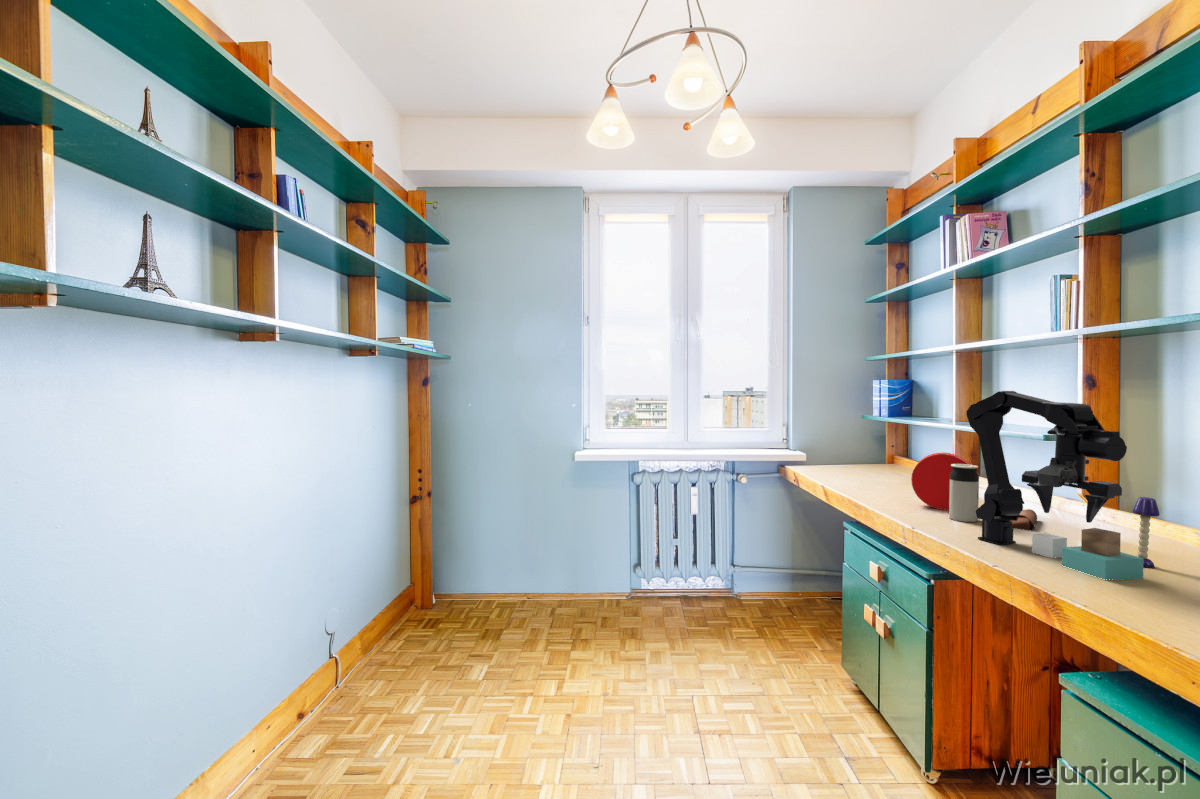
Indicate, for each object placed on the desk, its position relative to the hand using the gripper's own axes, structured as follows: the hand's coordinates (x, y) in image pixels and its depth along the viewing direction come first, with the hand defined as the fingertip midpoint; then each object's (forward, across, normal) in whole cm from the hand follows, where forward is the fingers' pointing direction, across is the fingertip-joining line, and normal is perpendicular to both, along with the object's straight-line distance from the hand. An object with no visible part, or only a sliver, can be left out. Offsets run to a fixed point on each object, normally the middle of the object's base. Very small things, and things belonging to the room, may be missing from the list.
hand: (1067, 517), depth 134 cm
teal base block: (+12, +7, +1) cm, 14 cm away
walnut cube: (+7, +7, +1) cm, 10 cm away
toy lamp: (+12, +7, +17) cm, 22 cm away
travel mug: (+13, -41, +18) cm, 47 cm away
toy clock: (+13, -56, +28) cm, 64 cm away
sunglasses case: (+13, -32, +31) cm, 46 cm away
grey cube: (+12, -6, +4) cm, 14 cm away
